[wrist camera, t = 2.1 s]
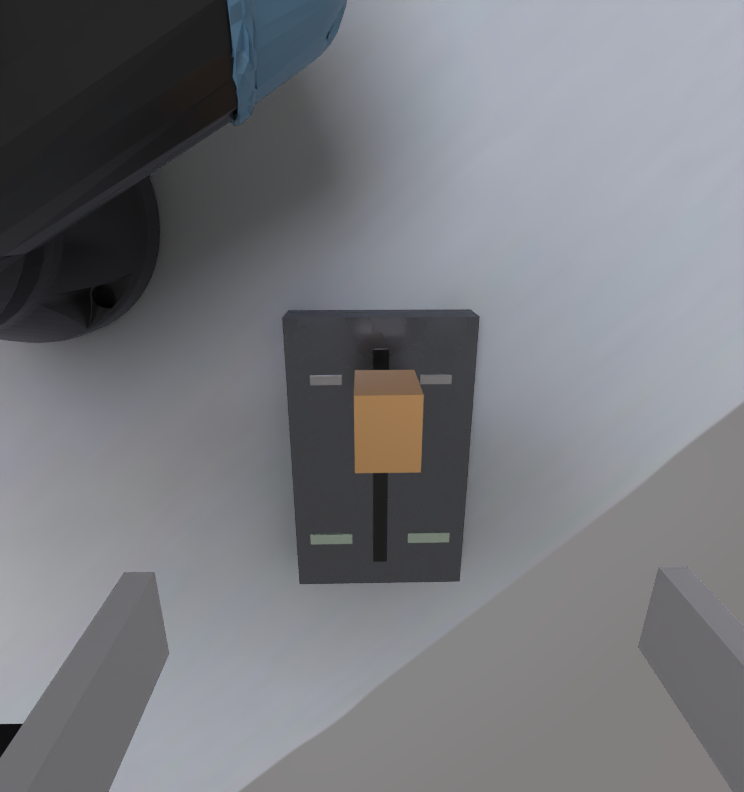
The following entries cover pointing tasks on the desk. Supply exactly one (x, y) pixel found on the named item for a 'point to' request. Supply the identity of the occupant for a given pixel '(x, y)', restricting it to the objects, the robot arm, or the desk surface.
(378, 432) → the dimmer fader
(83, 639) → the robot arm
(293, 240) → the desk surface
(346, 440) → the panel
